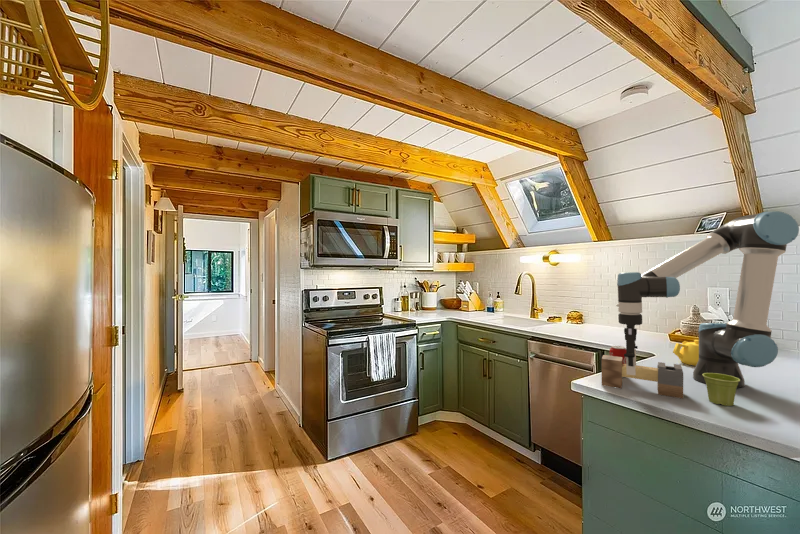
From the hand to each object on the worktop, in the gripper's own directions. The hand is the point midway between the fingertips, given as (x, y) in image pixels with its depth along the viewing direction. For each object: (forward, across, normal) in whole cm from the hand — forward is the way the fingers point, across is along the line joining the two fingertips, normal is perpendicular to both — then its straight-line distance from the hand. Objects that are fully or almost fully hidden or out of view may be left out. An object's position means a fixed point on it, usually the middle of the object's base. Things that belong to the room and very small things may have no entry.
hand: (631, 370), depth 134 cm
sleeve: (+7, 0, +11) cm, 13 cm away
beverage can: (+7, -14, -5) cm, 16 cm away
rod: (+2, 0, +1) cm, 3 cm away
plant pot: (+7, +1, +25) cm, 26 cm away
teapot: (+8, -58, +24) cm, 63 cm away
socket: (+6, 0, -6) cm, 9 cm away
